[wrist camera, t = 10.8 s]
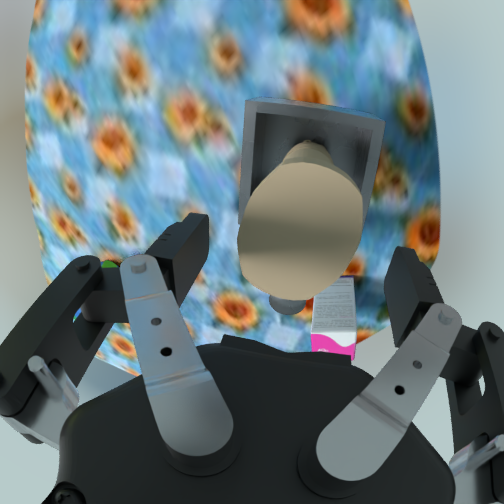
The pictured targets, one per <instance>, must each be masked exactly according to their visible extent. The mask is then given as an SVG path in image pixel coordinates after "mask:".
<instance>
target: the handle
mask: <svg viewBox="0 0 504 504" xmlns="http://www.w3.org/2000/svg"><path fill="white" fill-rule="evenodd" d="M362 224H363V204H362V195H361V192H360V190H359V188H358V187H357V185H356V184H355V182H354V181H353V180H352V179H351V178H350V176H349V175H348V174H347V173H345V172H344V171H343V170H341V169H340V168H338V167H336V166H334V163H333V160H332V158H331V156H330V154H329V153H328V152H327V150H326V148H325V147H324V146H323V145H321V144H320V145H319V144H317V143H314V142H311V140H304V141H303V142H302V143H299V144H297V145H296V146H294V147H293V148H292V149H291V150H290V151H289V152H288V153H287V155H286V156H285V158H284V159H283V161H282V163H281V164H280V165H278V166H277V167H276V168H275V169H274V170H273V171H272V172H271V173H270V174H269V175H268V176H267V177H266V178H265V179H264V180H263V181H262V182H261V183H260V184H259V185H258V187H257V188H256V189H255V190H254V192H253V194H252V195H251V197H250V199H249V201H248V204H247V206H246V209H245V212H244V215H243V218H242V221H241V224H240V227H239V232H238V237H237V246H238V254H239V259H240V264H241V269H242V274H243V276H244V277H245V278H246V279H247V280H248V281H249V282H250V283H251V284H252V285H253V286H255V287H256V288H258V289H260V290H261V291H263V292H265V293H268V294H270V295H272V296H275V297H279V298H282V299H287V300H308V299H311V298H312V297H314V296H315V295H317V294H319V293H320V292H322V291H323V290H325V289H326V288H327V287H329V286H330V285H332V284H333V283H334V282H335V281H336V280H337V279H339V278H340V277H341V275H342V274H343V272H344V271H345V270H346V268H347V266H348V265H349V263H350V261H351V259H352V257H353V256H354V254H355V252H356V250H357V248H358V245H359V243H360V240H361V235H362Z"/></svg>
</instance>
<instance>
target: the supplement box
mask: <svg viewBox="0 0 504 504" xmlns="http://www.w3.org/2000/svg"><path fill="white" fill-rule="evenodd" d="M356 338H357V324H356V306H355V292H354V276H353V275H352V276H350V275H349V276H341V277H340V278H339V279H337V280H336V281H335V282H334V283H333V284H332V285H330V286H329V287H327V288H326V289H325V290H323V291H322V292H320V293H319V294H317V295H315V296H314V305H313V317H312V327H311V345H312V352H315V351H323V352H330V353H338V354H346V355H351V360H354V357H355V348H356Z"/></svg>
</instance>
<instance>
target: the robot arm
mask: <svg viewBox="0 0 504 504" xmlns="http://www.w3.org/2000/svg"><path fill="white" fill-rule="evenodd" d="M208 252H209V217H208V215H206V214H199V213H189V214H188V216H187V217H186V218H185V219H184V220H183V221H182V222H176V223H174V224H172V225H170V226H169V227H167V228H166V230H165V231H164V232H163V233H162V234H161V235H160V236H159V237H158V240H156V241H155V242H154V243H153V244H152V245H151V247H150V248H149V249H148V250H147V251H146V252H145V253H144V254H139V255H134V256H131V257H128V258H127V259H125V260H124V261H123V262H122V263H121V265H120V267H110V268H102V266H101V262H100V259H99V258H97V257H96V256H91V255H86V256H81V257H78V258H76V259H74V260H73V261H71V262H70V263H69V264H68V265H67V266H66V267H65V269H64V270H63V271H62V272H61V273H60V274H59V275H58V276H57V277H56V278H55V279H54V281H53V282H52V283H51V284H50V285H49V286H48V287H47V288H46V290H45V291H44V292H43V293H42V294H41V295H40V296H39V298H38V299H37V300H36V301H35V302H34V303H33V305H32V306H31V307H30V308H29V309H28V311H27V312H26V313H25V314H24V316H23V317H22V318H21V320H19V322H18V323H17V324H16V326H15V327H14V328H13V329H12V331H11V332H10V333H9V335H8V336H7V337H6V339H5V340H4V341H3V343H2V344H1V345H0V416H1V417H2V418H3V419H4V420H5V421H6V422H7V423H8V424H9V425H10V426H11V427H13V428H14V429H15V430H16V431H17V432H19V433H20V434H22V435H23V436H24V437H25V438H26V439H28V440H29V441H30V442H32V443H35V444H41V443H46V444H48V445H50V446H51V447H53V448H55V449H57V450H59V454H60V458H59V472H58V477H57V481H56V484H55V486H54V488H53V490H52V492H51V493H50V494H49V495H48V497H47V498H46V499H45V500H44V501H43V502H42V503H41V504H504V332H503V331H502V329H500V327H498V326H497V325H496V324H494V323H491V322H483V323H482V324H481V325H480V326H479V328H478V330H475V329H472V328H469V327H467V326H464V325H462V319H461V316H460V315H459V313H458V312H457V311H456V310H455V309H454V308H452V307H451V306H448V305H446V304H444V302H443V299H442V296H441V294H440V292H439V289H438V287H437V286H436V282H435V280H434V279H433V275H432V273H431V271H430V269H429V268H428V267H427V266H426V265H425V264H424V263H423V262H420V261H419V259H418V256H417V254H416V252H415V250H414V249H411V248H406V247H400V246H397V247H396V249H395V251H394V254H393V257H392V260H391V263H390V265H389V268H388V271H387V274H386V277H385V281H384V293H385V297H386V302H387V307H388V312H389V317H390V322H391V327H392V332H393V338H394V344H395V347H398V348H399V349H398V350H397V351H396V353H395V354H394V355H393V356H392V358H391V359H390V360H389V361H388V363H387V364H386V365H385V366H384V367H383V368H382V370H381V371H380V372H379V373H378V375H377V376H376V377H375V378H374V377H373V376H371V375H370V374H369V373H367V372H365V371H364V370H362V369H360V368H358V367H356V366H353V365H351V355H346V354H338V353H330V352H323V351H315V352H296V353H287V352H283V351H281V350H278V349H276V348H273V347H270V346H268V345H265V344H263V343H260V342H258V341H255V340H251V339H245V338H240V337H235V336H231V335H226V334H224V335H223V338H222V341H221V343H213V344H205V345H200V346H197V347H195V345H194V342H193V340H192V338H191V335H190V333H189V331H188V329H187V326H186V324H185V322H184V319H183V317H182V314H181V312H180V310H179V308H180V306H181V304H182V302H183V301H184V299H185V297H186V295H187V293H188V292H189V290H190V288H191V286H192V284H193V283H194V281H195V279H196V277H197V276H198V274H199V272H200V270H201V269H202V267H203V265H204V263H205V262H206V260H207V257H208ZM79 308H80V309H81V313H80V314H79V315H78V317H77V318H76V319H75V321H74V322H73V318H74V316H75V314H76V312H77V311H78V310H79ZM114 323H130V328H131V332H132V337H133V341H134V345H135V349H136V353H137V357H138V361H139V364H140V368H141V372H142V374H141V375H139V376H138V377H136V378H134V379H132V380H130V381H128V382H126V383H124V384H122V385H120V386H118V387H116V388H114V389H112V390H110V391H108V392H106V393H104V394H102V395H100V396H98V397H96V398H94V399H92V400H90V401H88V402H86V403H84V404H82V405H80V406H79V407H77V405H78V402H79V393H78V390H77V389H76V388H77V386H78V384H79V383H80V381H81V379H82V377H83V375H84V374H85V372H86V370H87V368H88V366H89V364H90V363H91V361H92V359H93V358H94V356H95V354H96V353H97V351H98V349H99V347H100V346H101V344H102V342H103V341H104V339H105V337H106V336H107V334H108V332H109V331H110V329H111V327H112V326H113V324H114ZM482 375H483V378H484V382H485V391H484V394H483V396H482V394H481V390H480V385H479V381H478V380H479V379H480V378H481V377H482ZM439 376H440V377H442V378H445V379H446V385H447V392H448V398H449V405H450V412H451V422H452V431H453V442H454V455H453V457H452V458H451V460H450V462H449V466H448V465H447V463H446V462H445V461H444V460H443V458H442V457H441V456H440V455H439V454H438V452H437V451H436V450H435V449H434V447H433V446H432V445H431V444H430V443H429V441H428V440H427V439H426V438H425V437H424V436H423V434H422V433H421V432H420V431H419V429H418V428H417V427H416V426H415V425H414V423H413V422H412V420H413V418H414V416H415V415H416V413H417V412H418V410H419V409H420V407H421V406H422V404H423V402H424V401H425V399H426V397H427V396H428V394H429V392H430V391H431V389H432V387H433V385H434V384H435V382H436V380H437V378H438V377H439Z"/></svg>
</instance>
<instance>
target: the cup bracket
mask: <svg viewBox="0 0 504 504" xmlns="http://www.w3.org/2000/svg"><path fill="white" fill-rule="evenodd" d="M385 123H386V122H385V121H384V120H382V119H380V118H378V117H377V116H375V115H373V114H371V113H367V112H362V111H357V110H352V109H347V108H342V107H336V106H330V105H324V104H318V103H311V102H304V101H296V100H288V99H279V98H269V97H257V98H253V99H249V100H245V113H244V128H243V145H242V161H241V178H240V196H239V215H238V224H241V221H242V218H243V215H244V212H245V209H246V206H247V204H248V201H249V199H250V197H251V195H252V194H253V192H254V190H255V189H256V188H257V187H258V185H259V184H260V183H261V182H262V181H263V180H264V179H265V178H266V177H267V176H268V175H269V174H270V173H271V172H272V171H273V170H274V169H275V168H276V167H277V166H278V165H280V164H281V163H282V161H283V159H284V158H285V156H286V155H287V153H288V152H289V151H290V150H291V149H292V148H293V147H294V146H296V145H297V144H299V143H302V142H303V141H304V140H311V142H314V143H317V144H319V145H320V144H321V145H323V146H324V147H325V148H326V150H327V152H328V153H329V154H330V156H331V158H332V160H333V163H334V166H336V167H338V168H340V169H341V170H343V171H344V172H345V173H347V174H348V175H349V176H350V178H351V179H352V180H353V181H354V182H355V184H356V185H357V187H358V188H359V190H360V192H361V195H362V204H363V224H362V231H363V227H364V223H365V219H366V215H367V211H368V207H369V202H370V198H371V194H372V189H373V185H374V180H375V176H376V171H377V166H378V161H379V156H380V151H381V146H382V140H383V135H384V129H385ZM269 302H270V305H271V307H272V308H273V309H274V310H275V311H277V312H278V313H281V314H285V315H293V314H297V313H299V312H300V311H302V310H303V309H304V307H305V305H306V300H287V299H282V298H279V297H275V296H272V295H270V297H269Z"/></svg>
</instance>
